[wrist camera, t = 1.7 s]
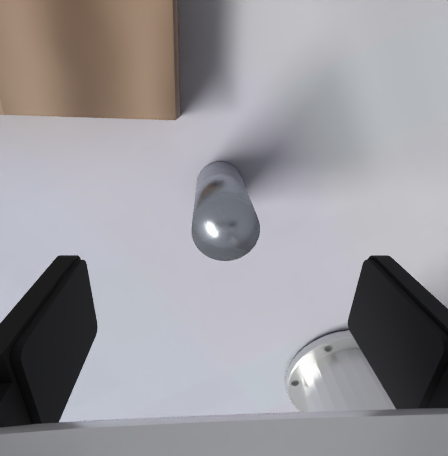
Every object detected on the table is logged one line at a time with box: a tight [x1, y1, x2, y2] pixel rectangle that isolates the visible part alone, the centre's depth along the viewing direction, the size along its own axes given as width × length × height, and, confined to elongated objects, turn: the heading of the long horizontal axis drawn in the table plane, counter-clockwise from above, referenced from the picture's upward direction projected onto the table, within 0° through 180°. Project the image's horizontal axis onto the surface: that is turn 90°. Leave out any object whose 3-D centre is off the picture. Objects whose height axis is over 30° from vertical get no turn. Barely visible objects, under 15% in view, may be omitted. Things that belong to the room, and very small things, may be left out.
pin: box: [192, 161, 260, 261], centre depth 20 cm, size 4×4×9 cm
